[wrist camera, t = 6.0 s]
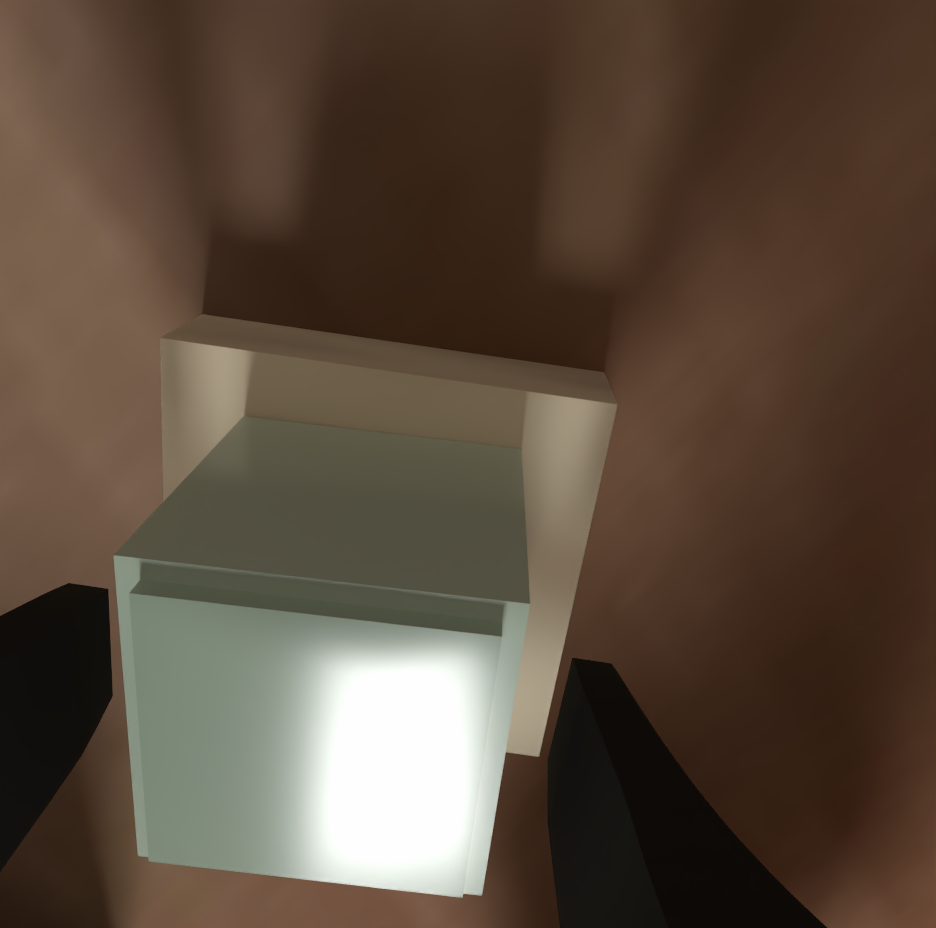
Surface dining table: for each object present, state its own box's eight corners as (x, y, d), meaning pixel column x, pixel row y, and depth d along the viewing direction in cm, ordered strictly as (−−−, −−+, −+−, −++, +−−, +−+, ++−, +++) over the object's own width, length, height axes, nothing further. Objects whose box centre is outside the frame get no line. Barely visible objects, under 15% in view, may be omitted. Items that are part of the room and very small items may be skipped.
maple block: (534, 681, 19) (538, 756, 17) (209, 635, 19) (167, 704, 16) (601, 365, 16) (617, 404, 13) (211, 309, 16) (160, 337, 13)
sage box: (488, 674, 16) (481, 914, 11) (244, 646, 16) (128, 874, 11) (521, 448, 14) (531, 618, 9) (243, 415, 14) (102, 567, 9)
